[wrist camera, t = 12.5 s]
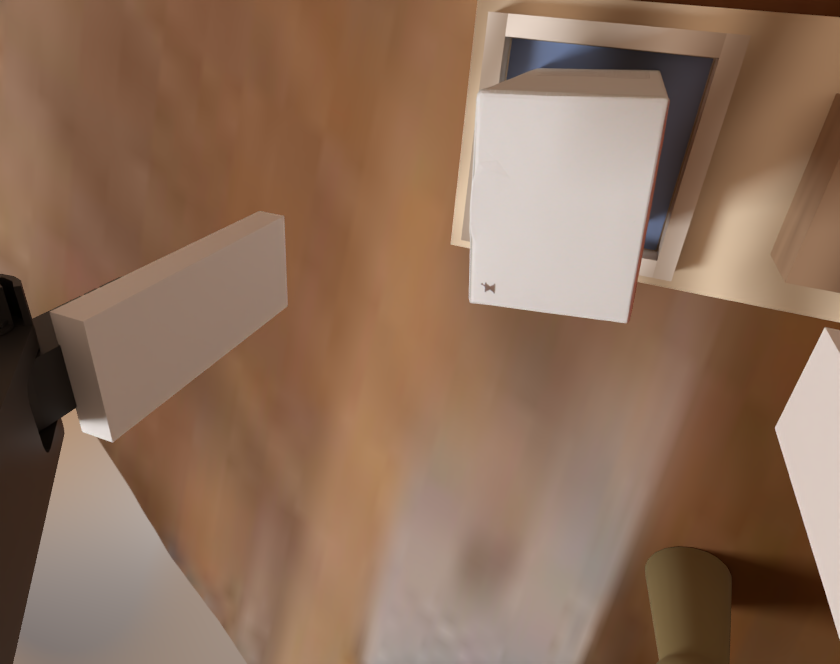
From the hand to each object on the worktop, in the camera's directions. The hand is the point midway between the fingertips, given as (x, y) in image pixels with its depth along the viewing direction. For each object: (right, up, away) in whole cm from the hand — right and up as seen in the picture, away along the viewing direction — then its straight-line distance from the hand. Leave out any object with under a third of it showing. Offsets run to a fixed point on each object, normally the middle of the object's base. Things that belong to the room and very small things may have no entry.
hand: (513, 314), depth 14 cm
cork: (+18, -19, +29) cm, 39 cm away
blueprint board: (+13, +9, +16) cm, 22 cm away
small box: (+7, +10, +17) cm, 21 cm away
